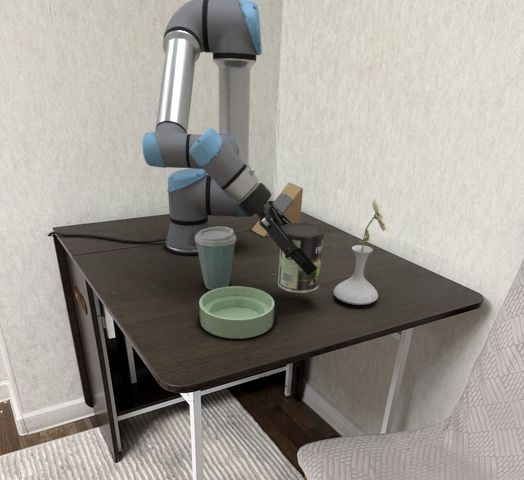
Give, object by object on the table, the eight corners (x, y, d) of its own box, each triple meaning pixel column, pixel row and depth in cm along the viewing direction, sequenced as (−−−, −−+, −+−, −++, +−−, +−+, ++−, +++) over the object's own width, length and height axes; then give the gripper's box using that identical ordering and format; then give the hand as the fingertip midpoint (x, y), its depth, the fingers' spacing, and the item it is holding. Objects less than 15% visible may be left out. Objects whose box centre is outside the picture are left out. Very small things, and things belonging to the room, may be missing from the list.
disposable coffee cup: (205, 296, 123) (203, 240, 115) (190, 280, 131) (187, 227, 123) (242, 289, 127) (243, 234, 119) (226, 274, 135) (225, 222, 127)
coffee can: (320, 278, 122) (326, 224, 115) (316, 295, 114) (322, 238, 106) (280, 274, 124) (284, 220, 116) (273, 290, 115) (276, 233, 108)
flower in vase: (367, 313, 118) (384, 212, 105) (325, 301, 123) (336, 203, 110) (385, 295, 127) (403, 200, 114) (345, 284, 132) (358, 192, 119)
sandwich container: (250, 229, 169) (251, 186, 161) (286, 223, 176) (288, 181, 168) (263, 237, 163) (264, 192, 155) (299, 230, 170) (303, 187, 162)
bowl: (185, 326, 110) (184, 307, 107) (225, 298, 123) (225, 280, 120) (250, 347, 103) (250, 327, 100) (285, 315, 116) (287, 296, 113)
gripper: (256, 194, 97) (326, 271, 104) (263, 170, 116) (322, 237, 124) (230, 219, 100) (300, 292, 107) (241, 192, 119) (300, 255, 127)
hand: (312, 263), depth 116 cm, fingers closed on coffee can, 10 cm apart
